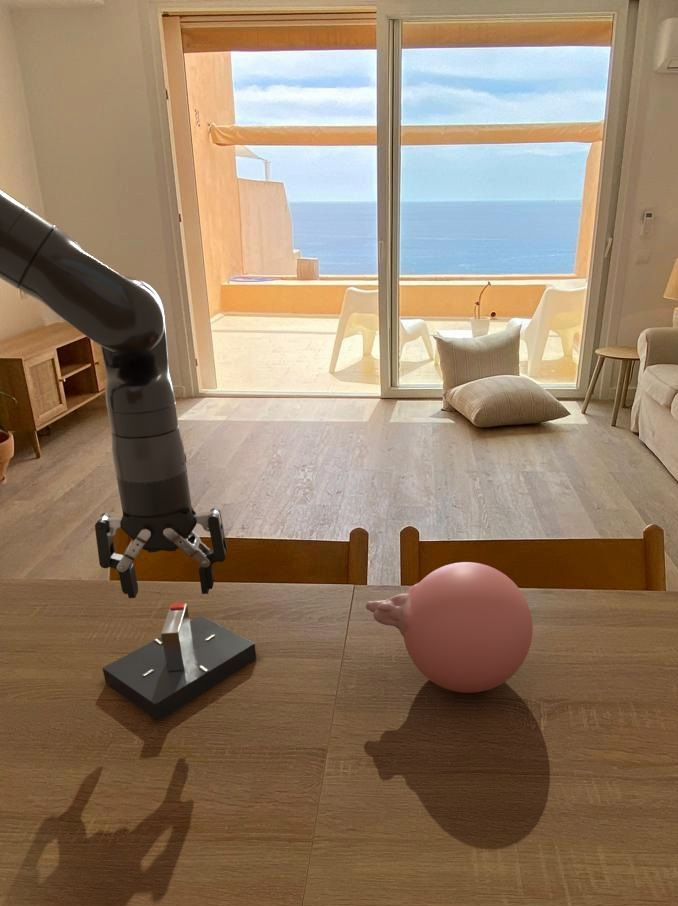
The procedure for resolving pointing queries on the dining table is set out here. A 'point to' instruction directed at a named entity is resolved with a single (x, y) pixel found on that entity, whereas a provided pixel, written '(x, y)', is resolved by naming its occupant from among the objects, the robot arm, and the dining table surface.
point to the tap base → (169, 690)
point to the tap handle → (176, 637)
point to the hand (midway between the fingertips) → (170, 592)
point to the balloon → (462, 626)
